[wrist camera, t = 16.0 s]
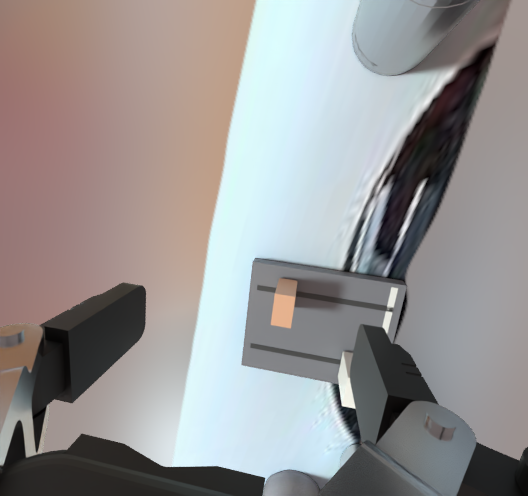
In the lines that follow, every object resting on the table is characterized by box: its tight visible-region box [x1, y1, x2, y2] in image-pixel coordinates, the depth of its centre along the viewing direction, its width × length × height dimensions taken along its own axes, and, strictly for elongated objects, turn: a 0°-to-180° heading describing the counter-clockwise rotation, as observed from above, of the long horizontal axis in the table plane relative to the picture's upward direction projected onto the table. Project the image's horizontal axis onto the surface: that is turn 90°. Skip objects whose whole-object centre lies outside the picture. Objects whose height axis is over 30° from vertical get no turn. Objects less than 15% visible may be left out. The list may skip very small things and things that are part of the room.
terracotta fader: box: [271, 278, 297, 328], centre depth 37 cm, size 2×4×6 cm, turn 173°
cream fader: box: [338, 351, 356, 409], centre depth 38 cm, size 2×4×6 cm, turn 173°
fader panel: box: [242, 258, 407, 384], centre depth 42 cm, size 20×16×2 cm
